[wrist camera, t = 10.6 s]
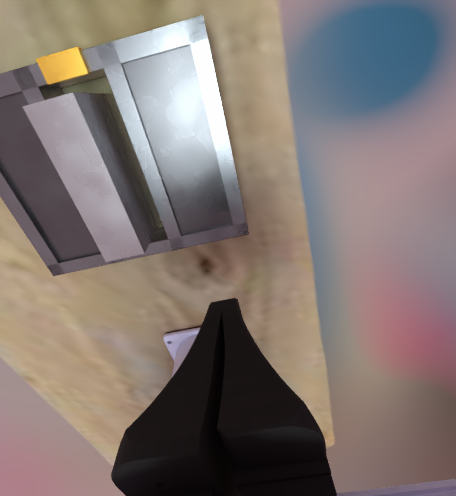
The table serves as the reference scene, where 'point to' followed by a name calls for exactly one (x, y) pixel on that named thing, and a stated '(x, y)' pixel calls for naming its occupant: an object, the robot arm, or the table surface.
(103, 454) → the table surface
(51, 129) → the panel
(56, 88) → the grey compartment tray
